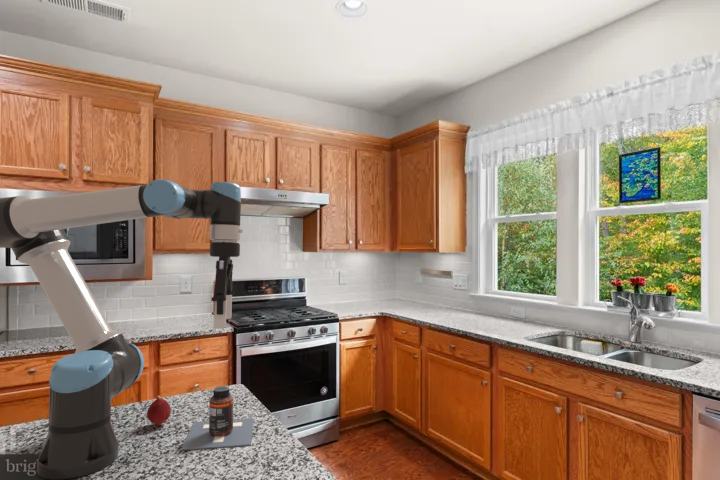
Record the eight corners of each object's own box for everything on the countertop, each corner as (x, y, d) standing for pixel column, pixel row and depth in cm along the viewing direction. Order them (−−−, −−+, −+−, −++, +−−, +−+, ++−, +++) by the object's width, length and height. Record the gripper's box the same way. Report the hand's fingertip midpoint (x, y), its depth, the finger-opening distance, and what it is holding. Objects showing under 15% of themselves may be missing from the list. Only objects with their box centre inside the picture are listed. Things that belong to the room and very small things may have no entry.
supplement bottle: (227, 425, 114) (228, 383, 115) (236, 432, 110) (237, 389, 110) (205, 431, 111) (206, 387, 111) (213, 439, 106) (214, 393, 106)
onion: (174, 422, 117) (175, 392, 117) (162, 430, 111) (163, 400, 111) (154, 420, 118) (155, 391, 118) (142, 429, 112) (142, 399, 112)
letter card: (181, 450, 101) (181, 448, 101) (193, 423, 116) (194, 421, 116) (250, 445, 104) (250, 443, 104) (253, 419, 119) (253, 418, 119)
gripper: (235, 241, 100) (233, 331, 99) (243, 242, 124) (241, 315, 124) (202, 240, 98) (199, 332, 98) (216, 242, 123) (214, 315, 122)
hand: (223, 322), depth 111 cm, fingers open, 13 cm apart
